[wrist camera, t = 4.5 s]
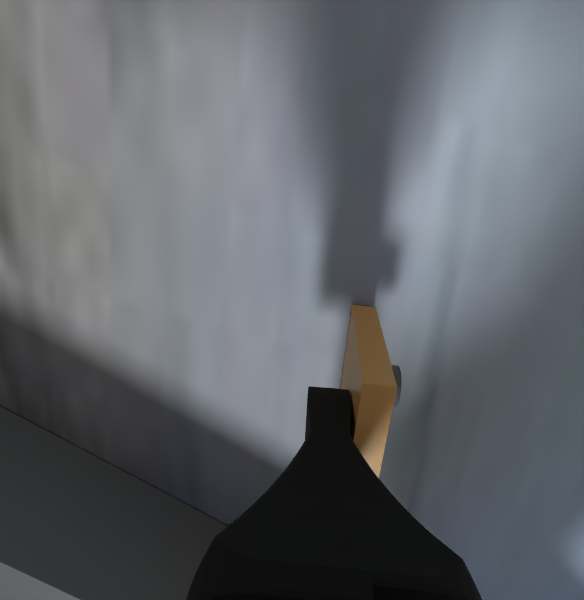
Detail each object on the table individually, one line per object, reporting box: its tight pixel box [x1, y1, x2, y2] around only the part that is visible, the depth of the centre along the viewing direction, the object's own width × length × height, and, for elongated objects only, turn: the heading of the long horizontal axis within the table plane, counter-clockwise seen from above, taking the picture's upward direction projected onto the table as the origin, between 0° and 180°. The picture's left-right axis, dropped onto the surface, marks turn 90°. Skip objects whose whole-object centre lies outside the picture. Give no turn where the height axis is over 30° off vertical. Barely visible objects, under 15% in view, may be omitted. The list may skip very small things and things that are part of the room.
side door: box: [340, 305, 401, 478], centre depth 14 cm, size 13×1×5 cm, turn 176°
